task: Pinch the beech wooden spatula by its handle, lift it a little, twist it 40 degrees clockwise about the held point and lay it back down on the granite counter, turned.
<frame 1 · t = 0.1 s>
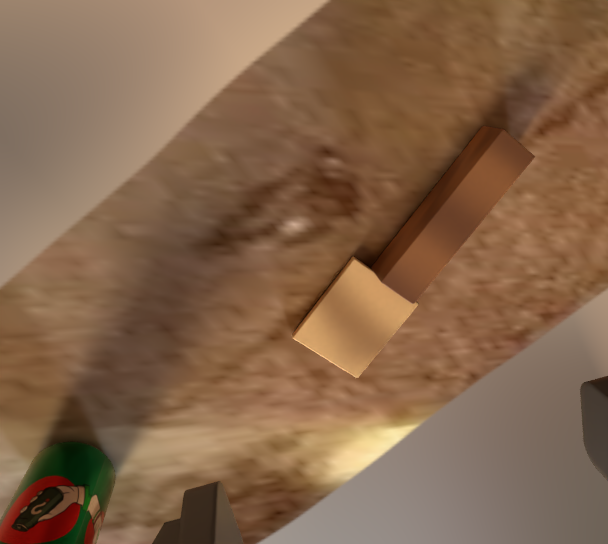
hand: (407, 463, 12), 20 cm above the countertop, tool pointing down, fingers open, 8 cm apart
soda can: (76, 468, 34), on the countertop
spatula: (354, 317, 32), on the countertop
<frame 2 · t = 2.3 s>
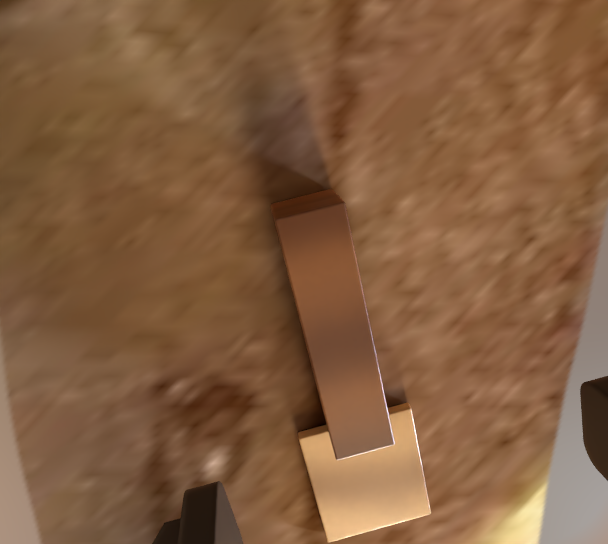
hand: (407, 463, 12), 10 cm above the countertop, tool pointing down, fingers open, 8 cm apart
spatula: (365, 470, 24), on the countertop
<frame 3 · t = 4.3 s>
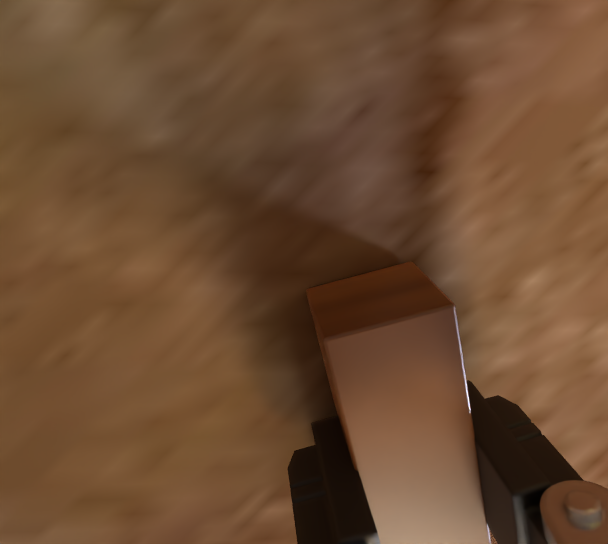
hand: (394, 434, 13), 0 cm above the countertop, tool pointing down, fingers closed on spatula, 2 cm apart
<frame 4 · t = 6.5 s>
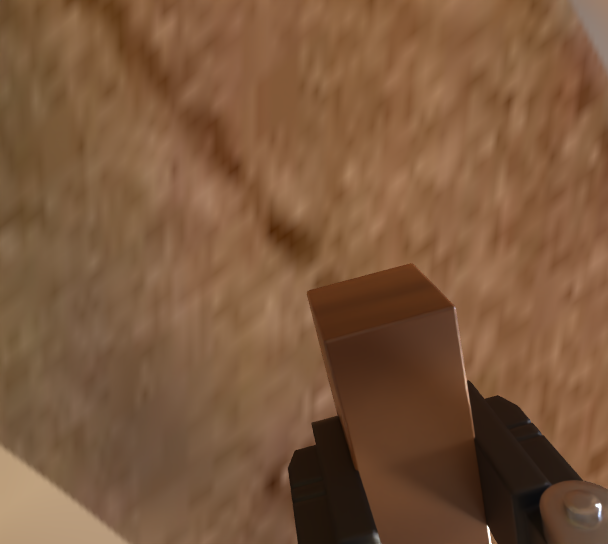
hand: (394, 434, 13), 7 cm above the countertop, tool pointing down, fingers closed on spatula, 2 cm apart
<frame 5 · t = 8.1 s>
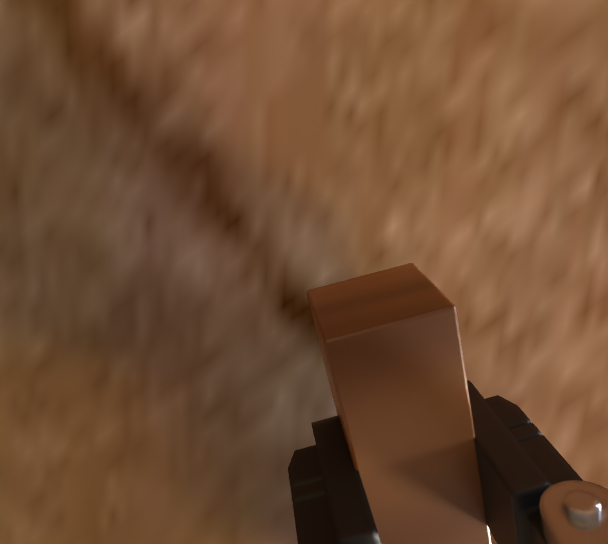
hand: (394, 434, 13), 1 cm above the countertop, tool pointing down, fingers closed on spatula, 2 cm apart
when the fingers open (0 cm above the countertop, at t = 8.7 s): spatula stays where it is, on the countertop.
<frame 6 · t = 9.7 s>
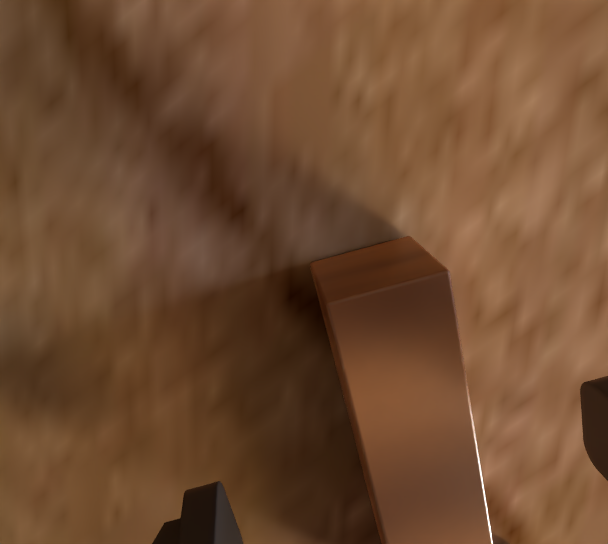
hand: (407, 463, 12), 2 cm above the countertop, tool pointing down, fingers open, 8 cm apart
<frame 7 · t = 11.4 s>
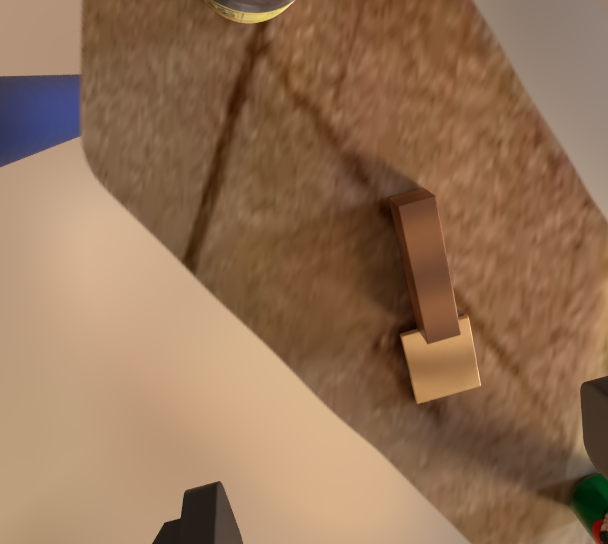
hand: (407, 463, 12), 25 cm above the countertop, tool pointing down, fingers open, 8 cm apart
soda can: (594, 490, 46), on the countertop
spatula: (440, 358, 40), on the countertop
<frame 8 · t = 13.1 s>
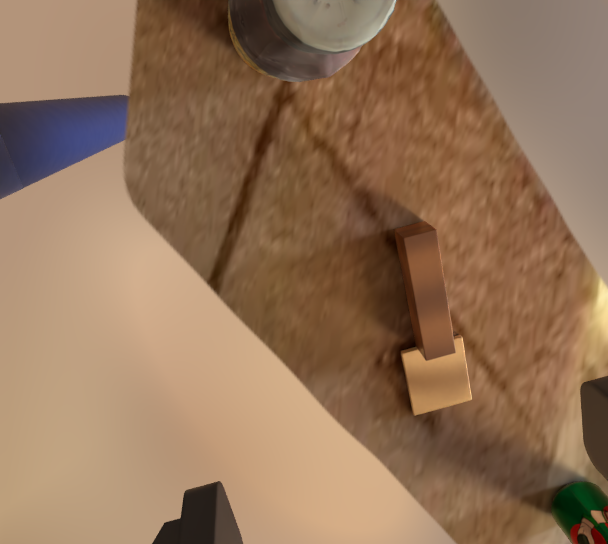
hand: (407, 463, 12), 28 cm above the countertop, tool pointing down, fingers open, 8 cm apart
soda can: (572, 498, 50), on the countertop
sauce bottle: (278, 29, 35), on the countertop
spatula: (435, 374, 44), on the countertop
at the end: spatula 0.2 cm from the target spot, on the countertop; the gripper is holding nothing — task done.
